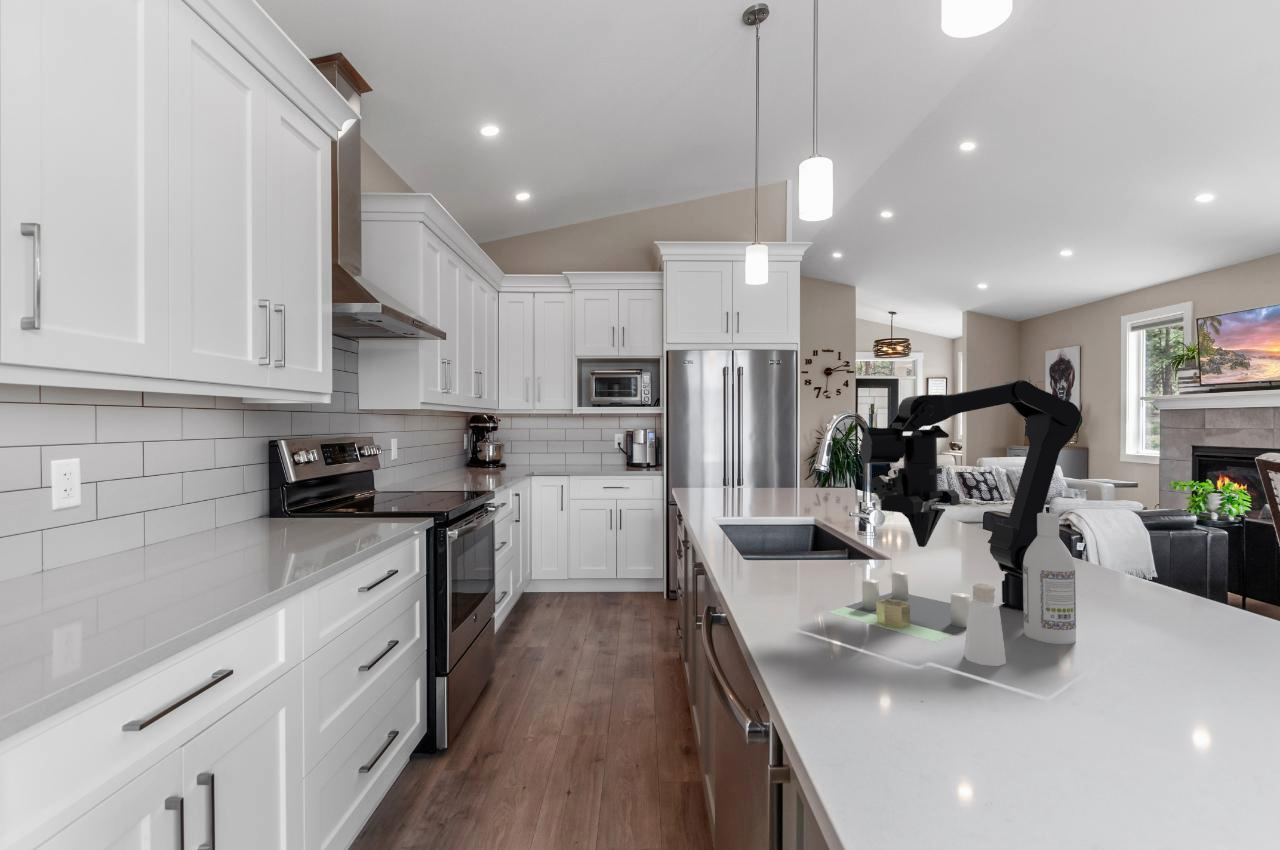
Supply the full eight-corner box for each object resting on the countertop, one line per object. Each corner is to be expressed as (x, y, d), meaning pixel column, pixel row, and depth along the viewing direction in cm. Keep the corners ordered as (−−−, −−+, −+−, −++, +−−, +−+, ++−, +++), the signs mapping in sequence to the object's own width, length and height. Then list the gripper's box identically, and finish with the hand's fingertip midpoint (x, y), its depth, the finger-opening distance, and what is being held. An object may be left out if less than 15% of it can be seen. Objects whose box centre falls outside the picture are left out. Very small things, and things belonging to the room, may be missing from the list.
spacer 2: (911, 599, 120) (911, 573, 120) (903, 601, 118) (902, 575, 118) (897, 595, 122) (896, 570, 122) (888, 598, 121) (888, 572, 121)
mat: (1000, 616, 110) (1000, 614, 110) (935, 644, 96) (935, 641, 96) (895, 593, 126) (895, 591, 126) (827, 614, 112) (827, 611, 112)
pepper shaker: (1015, 667, 86) (1014, 589, 87) (981, 670, 86) (980, 591, 86) (987, 653, 92) (987, 580, 92) (955, 656, 91) (954, 581, 91)
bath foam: (1086, 643, 96) (1085, 515, 96) (1055, 649, 94) (1053, 517, 94) (1044, 630, 102) (1042, 510, 103) (1013, 635, 100) (1012, 512, 100)
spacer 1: (882, 608, 114) (882, 581, 114) (873, 611, 112) (873, 583, 112) (868, 604, 116) (868, 578, 116) (859, 607, 115) (858, 580, 115)
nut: (914, 623, 105) (914, 603, 105) (897, 630, 102) (897, 609, 102) (889, 617, 108) (889, 597, 108) (872, 623, 105) (872, 603, 105)
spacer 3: (974, 625, 104) (973, 595, 104) (965, 628, 102) (965, 598, 102) (956, 620, 106) (955, 592, 106) (947, 624, 104) (947, 594, 104)
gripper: (904, 459, 126) (905, 535, 126) (853, 463, 115) (854, 547, 115) (960, 461, 118) (961, 542, 118) (911, 465, 106) (912, 556, 106)
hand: (921, 546), depth 114 cm, fingers closed
